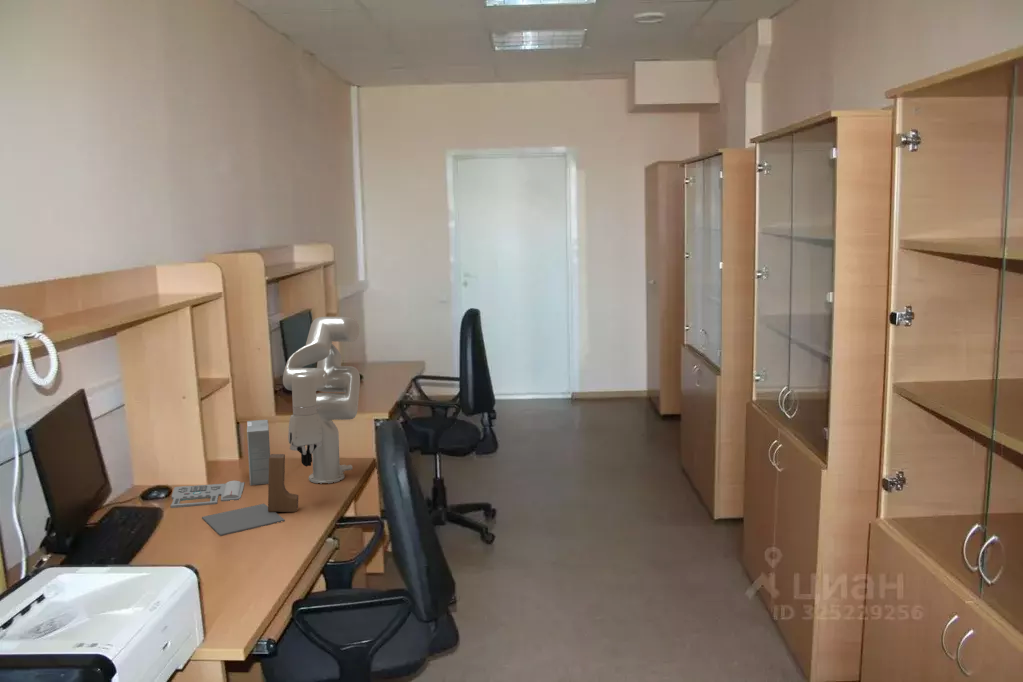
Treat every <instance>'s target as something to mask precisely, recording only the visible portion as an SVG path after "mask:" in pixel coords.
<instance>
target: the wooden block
mask: <svg viewBox="0 0 1023 682" xmlns="http://www.w3.org/2000/svg"><path fill="white" fill-rule="evenodd" d="M285 457H286V455H285V454H283V453H270V457H269V484H267V485H268V489H267V490H268V491H267V492H268V493H267V495H268V499H267V506H268V512H276V513H279V512H280V513H281V512H283V513H291V512H293V513H296V512H297V511H298V508H299V495H298V494H296V493H290V491H288V490H287V489H286V485H285V469H286V468H285V467H286V466H285V465H286V459H285Z"/></svg>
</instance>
